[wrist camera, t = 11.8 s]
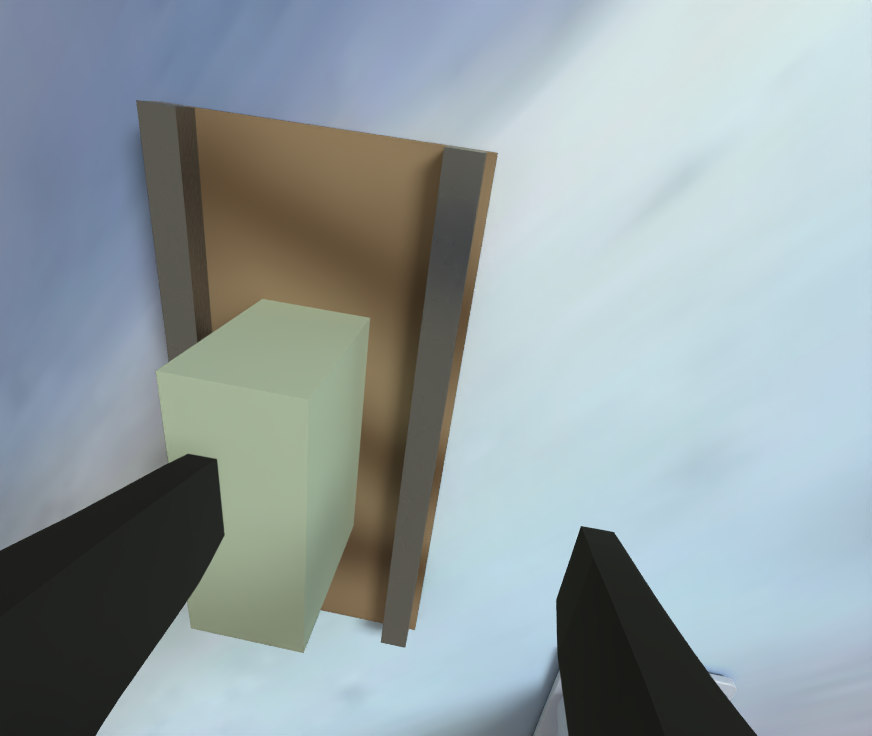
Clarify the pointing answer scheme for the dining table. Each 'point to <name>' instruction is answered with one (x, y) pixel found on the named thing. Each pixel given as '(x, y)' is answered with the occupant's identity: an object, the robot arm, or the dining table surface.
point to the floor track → (334, 294)
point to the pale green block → (272, 461)
